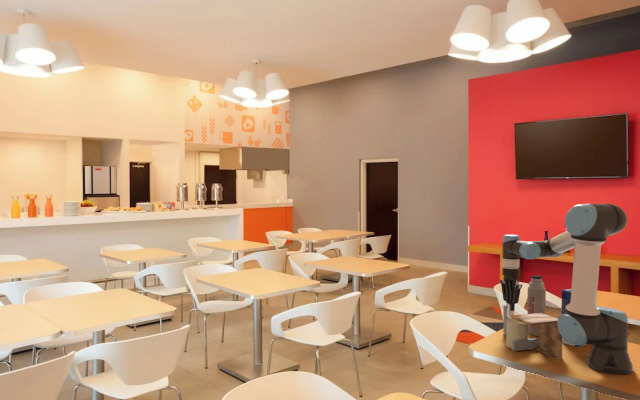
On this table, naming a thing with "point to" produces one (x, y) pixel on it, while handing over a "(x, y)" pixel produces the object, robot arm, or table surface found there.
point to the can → (515, 331)
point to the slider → (519, 343)
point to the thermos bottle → (536, 300)
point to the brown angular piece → (544, 333)
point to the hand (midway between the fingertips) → (510, 317)
